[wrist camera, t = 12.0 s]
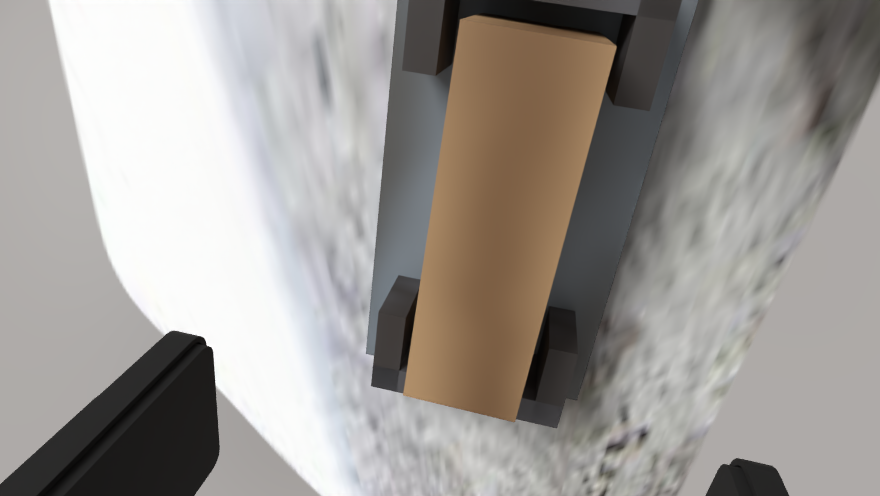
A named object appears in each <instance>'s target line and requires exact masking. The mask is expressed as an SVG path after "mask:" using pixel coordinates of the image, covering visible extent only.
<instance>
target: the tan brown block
mask: <svg viewBox="0 0 880 496" xmlns="http://www.w3.org/2000/svg"><path fill="white" fill-rule="evenodd" d="M616 48H617V46H616V45H615V44H613V43H612V42H611V41H610V40H609V39H607V38H606V37H605V36H604V35H603V34H601V33H600V32H595V31H589V30H583V29H577V28H571V27H565V26H559V25H553V24H548V23H542V22H536V21H530V20H524V19H518V18H512V17H506V16H501V15H495V14H489V13H479V14H476V15H473V16H470V17H466V18H463V19H460V23H459V30H458V37H457V43H456V50H455V56H454V63H453V70H452V76H451V83H450V89H449V96H448V103H447V109H446V116H445V122H444V129H443V136H442V142H441V149H440V155H439V162H438V168H437V175H436V182H435V188H434V195H433V201H432V208H431V215H430V221H429V228H428V234H427V241H426V248H425V254H424V261H423V267H422V274H421V280H420V287H419V294H418V300H417V307H416V313H415V320H414V327H413V333H412V340H411V346H410V353H409V360H408V366H407V373H406V379H405V386H404V392H403V395H404V396H408V397H412V398H416V399H421V400H425V401H429V402H433V403H437V404H441V405H445V406H450V407H454V408H458V409H462V410H466V411H470V412H474V413H479V414H483V415H487V416H491V417H495V418H499V419H503V420H507V421H512V422H515V420H516V416H517V413H518V409H519V405H520V402H521V398H522V394H523V390H524V387H525V383H526V379H527V376H528V372H529V368H530V365H531V361H532V357H533V354H534V350H535V346H536V343H537V339H538V335H539V331H540V328H541V324H542V320H543V317H544V313H545V309H546V306H547V302H548V298H549V295H550V291H551V287H552V284H553V280H554V276H555V272H556V269H557V265H558V261H559V258H560V254H561V250H562V247H563V243H564V239H565V236H566V232H567V228H568V225H569V221H570V217H571V213H572V210H573V206H574V202H575V199H576V195H577V191H578V188H579V184H580V180H581V177H582V173H583V169H584V166H585V162H586V158H587V154H588V151H589V147H590V143H591V140H592V136H593V132H594V129H595V125H596V121H597V118H598V114H599V110H600V107H601V103H602V99H603V95H604V92H605V88H606V84H607V81H608V77H609V73H610V70H611V66H612V62H613V59H614V55H615V51H616Z"/></svg>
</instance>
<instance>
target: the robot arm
mask: <svg viewBox="0 0 880 496" xmlns="http://www.w3.org/2000/svg"><path fill="white" fill-rule="evenodd" d="M219 447H220V446H219V432H218V417H217V403H216V387H215V372H214V358H213V350H212V348H211V347H209V346H207V345H206V341H205V339H204V338H203V337H200V336H196V335H192V334H187V333H183V332H178V331H170V332H169V333H167V334H166V335H165V336H164V337H163V338H162V339H161V340H159V342H157V343H156V344H155V345H154V346H153V347H152V348H151V349H150V350H148V351H147V352H146V353H145V354H144V355H143V356H142V357H141V358H140V359H139V360H138V361H137V362H135V363H134V364H133V365H132V366H131V367H130V368H129V369H128V370H126V371H125V372H124V373H123V374H122V375H121V376H120V377H119V378H118V379H117V380H115V381H114V383H112V384H111V385H110V386H109V387H108V388H107V389H106V390H104V391H103V392H102V393H101V394H100V395H99V396H97V397H96V398H95V399H94V400H92V401H91V402H90V403H89V404H88V405H87V406H86V407H85V408H84V409H83V410H82V411H80V412H79V413H78V414H77V415H76V416H75V417H74V418H73V419H72V420H70V421H69V422H68V423H67V424H66V425H65V426H64V427H63V428H62V429H61V430H59V431H58V432H57V433H56V434H55V435H54V436H53V437H52V438H51V439H50V440H48V441H47V442H46V443H45V444H44V445H43V446H42V447H41V448H40V449H39V450H37V451H36V452H35V453H34V454H33V455H32V456H31V457H30V458H29V459H27V460H26V461H25V462H24V463H23V464H22V465H21V466H20V467H19V468H18V469H17V470H15V471H14V473H12V474H11V475H10V476H9V477H8V478H7V479H5V480H4V481H3V482H2V483H1V484H0V496H194V495H195V494H196V492H197V491H198V489H199V488H200V487H201V485H202V484H203V482H204V481H205V480H206V478H207V477H208V475H209V474H210V472H211V471H212V469H213V468H214V466H215V464H216V461H217V459H218V456H219ZM706 496H789V495H788V492H787V490H786V488H785V486H784V483H783V481H782V479H781V477H780V475H779V473H778V471H777V470H776V469H775V468H774V467H773V466H770V465H766V464H761V463H757V462H752V461H748V460H744V459H738V458H736V459H734V460H733V461H732V462H731V464H730V465H726V464H723V465H721V466H720V468H719V469H718V471H717V473H716V475H715V478H714V479H713V482H712V484H711V486H710V488H709V490H708V492H707V494H706Z"/></svg>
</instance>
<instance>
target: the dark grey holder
mask: <svg viewBox="0 0 880 496" xmlns="http://www.w3.org/2000/svg"><path fill="white" fill-rule="evenodd" d="M697 3H698V0H398V1H397V12H396V23H395V34H394V46H393V57H392V68H391V79H390V90H389V101H388V113H387V124H386V135H385V146H384V157H383V169H382V180H381V191H380V202H379V213H378V225H377V236H376V247H375V258H374V269H373V281H372V292H371V303H370V314H369V325H368V337H367V348H366V354H370V355H374V363H373V373H372V383H371V386H373V387H377V388H382V389H386V390H391V391H395V392H399V393H403V392H404V386H405V379H406V373H407V366H408V360H409V353H410V346H411V340H412V333H413V327H414V320H415V313H416V307H417V300H418V294H419V287H420V280H421V274H422V267H423V261H424V254H425V248H426V241H427V234H428V228H429V221H430V215H431V208H432V201H433V195H434V188H435V182H436V175H437V168H438V162H439V155H440V149H441V142H442V136H443V129H444V122H445V116H446V109H447V103H448V96H449V89H450V83H451V76H452V70H453V63H454V56H455V50H456V43H457V37H458V30H459V23H460V19H463V18H466V17H470V16H473V15H476V14H479V13H489V14H495V15H501V16H506V17H512V18H518V19H524V20H530V21H536V22H542V23H548V24H553V25H559V26H565V27H571V28H577V29H583V30H589V31H595V32H600V33H601V34H603V35H604V36H605V37H606V38H607V39H609V40H610V41H611V42H612V43H613V44H615V45H616V46H617V48H616V51H615V55H614V59H613V62H612V66H611V70H610V73H609V77H608V81H607V84H606V88H605V92H604V95H603V99H602V103H601V107H600V110H599V114H598V118H597V121H596V125H595V129H594V132H593V136H592V140H591V143H590V147H589V151H588V154H587V158H586V162H585V166H584V169H583V173H582V177H581V180H580V184H579V188H578V191H577V195H576V199H575V202H574V206H573V210H572V213H571V217H570V221H569V225H568V228H567V232H566V236H565V239H564V243H563V247H562V250H561V254H560V258H559V261H558V265H557V269H556V272H555V276H554V280H553V284H552V287H551V291H550V295H549V298H548V302H547V306H546V309H545V313H544V317H543V320H542V324H541V328H540V331H539V335H538V339H537V343H536V346H535V350H534V354H533V357H532V361H531V365H530V368H529V372H528V376H527V379H526V383H525V387H524V390H523V394H522V398H521V402H520V405H519V409H518V413H517V416H516V419H518V420H523V421H527V422H531V423H536V424H540V425H545V426H549V427H553V428H557V426H558V423H559V420H560V416H561V413H562V409H563V406H564V403H565V399H566V398H568V399H573V400H577V398H578V395H579V391H580V388H581V385H582V382H583V378H584V375H585V372H586V368H587V365H588V362H589V359H590V355H591V352H592V349H593V345H594V342H595V339H596V336H597V332H598V329H599V326H600V322H601V319H602V316H603V312H604V309H605V306H606V303H607V299H608V296H609V293H610V289H611V286H612V283H613V280H614V276H615V273H616V270H617V266H618V263H619V260H620V257H621V253H622V250H623V247H624V243H625V240H626V237H627V234H628V230H629V227H630V224H631V220H632V217H633V214H634V211H635V207H636V204H637V201H638V197H639V194H640V191H641V188H642V184H643V181H644V178H645V174H646V171H647V168H648V164H649V161H650V158H651V155H652V151H653V148H654V145H655V141H656V138H657V135H658V132H659V128H660V125H661V122H662V118H663V115H664V112H665V109H666V105H667V102H668V99H669V95H670V92H671V89H672V86H673V82H674V79H675V76H676V72H677V69H678V66H679V63H680V59H681V56H682V53H683V49H684V46H685V43H686V40H687V36H688V33H689V30H690V26H691V23H692V20H693V16H694V13H695V10H696V7H697Z"/></svg>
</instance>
